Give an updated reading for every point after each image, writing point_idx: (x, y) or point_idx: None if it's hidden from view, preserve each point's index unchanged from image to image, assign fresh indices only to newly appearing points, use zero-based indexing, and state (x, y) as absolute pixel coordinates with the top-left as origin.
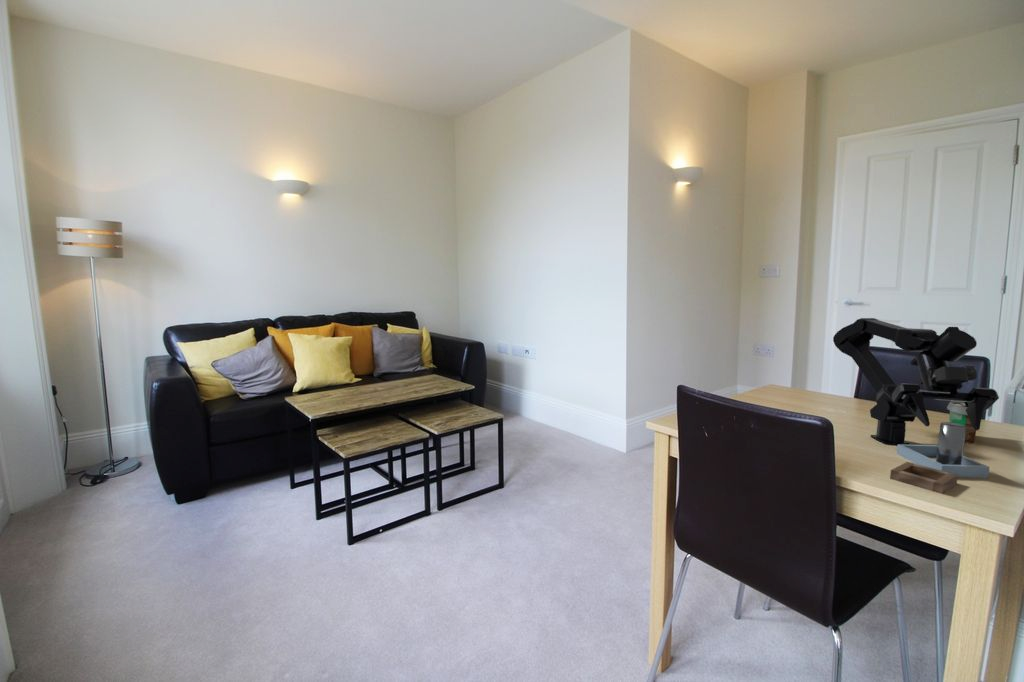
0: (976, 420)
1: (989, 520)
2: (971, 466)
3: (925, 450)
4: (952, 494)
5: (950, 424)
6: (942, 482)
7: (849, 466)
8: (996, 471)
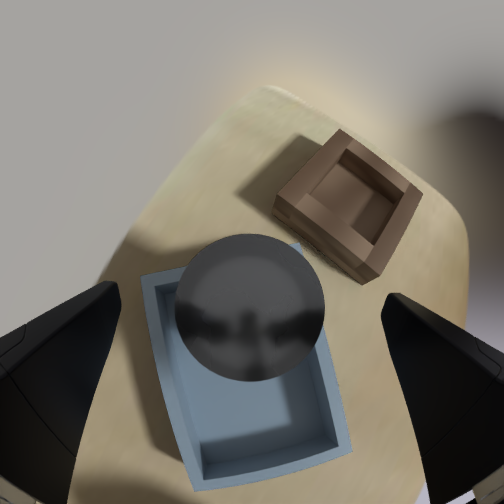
0: (87, 304)
1: (282, 89)
2: None
3: (250, 465)
4: None
5: (268, 309)
6: (336, 138)
7: (460, 295)
8: None
